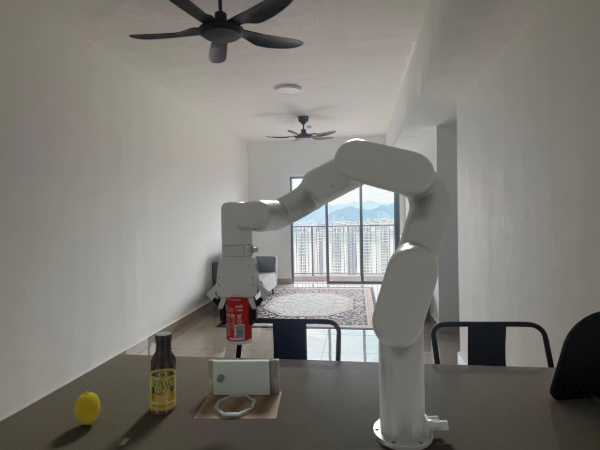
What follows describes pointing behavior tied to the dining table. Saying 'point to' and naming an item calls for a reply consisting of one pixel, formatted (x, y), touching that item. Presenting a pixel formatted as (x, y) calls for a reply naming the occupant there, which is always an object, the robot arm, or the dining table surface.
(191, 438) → the dining table surface
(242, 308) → the beverage can
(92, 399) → the lemon
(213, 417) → the base
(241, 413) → the grey octagonal ring
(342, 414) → the dining table surface
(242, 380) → the door
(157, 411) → the sauce bottle
